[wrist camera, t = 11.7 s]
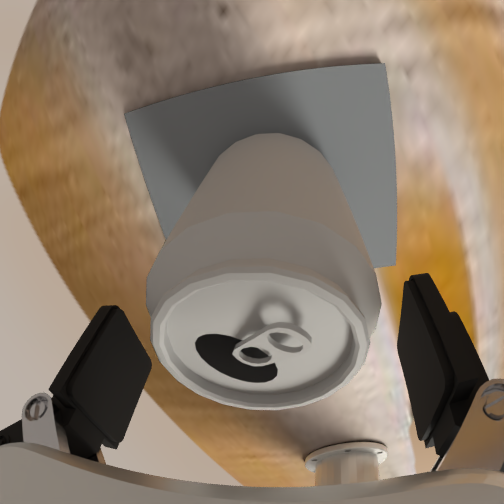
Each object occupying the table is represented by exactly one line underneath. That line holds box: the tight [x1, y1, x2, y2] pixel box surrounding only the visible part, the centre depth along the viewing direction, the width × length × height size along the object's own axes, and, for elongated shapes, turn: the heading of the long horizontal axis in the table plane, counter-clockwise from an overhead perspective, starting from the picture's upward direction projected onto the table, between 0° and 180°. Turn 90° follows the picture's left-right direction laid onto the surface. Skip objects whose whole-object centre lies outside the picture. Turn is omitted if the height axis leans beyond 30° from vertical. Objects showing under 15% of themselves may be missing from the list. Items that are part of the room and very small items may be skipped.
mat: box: [124, 63, 397, 268], centre depth 19 cm, size 13×15×1 cm
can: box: [146, 133, 382, 410], centre depth 13 cm, size 8×8×12 cm
